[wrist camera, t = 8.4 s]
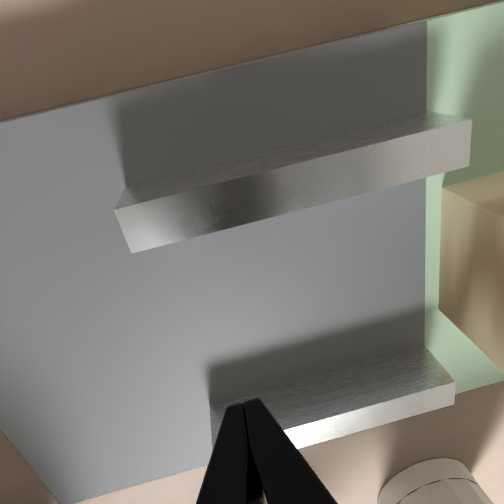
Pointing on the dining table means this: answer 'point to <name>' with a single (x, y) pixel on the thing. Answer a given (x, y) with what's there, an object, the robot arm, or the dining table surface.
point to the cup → (434, 485)
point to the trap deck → (224, 250)
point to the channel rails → (297, 198)
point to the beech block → (474, 261)
